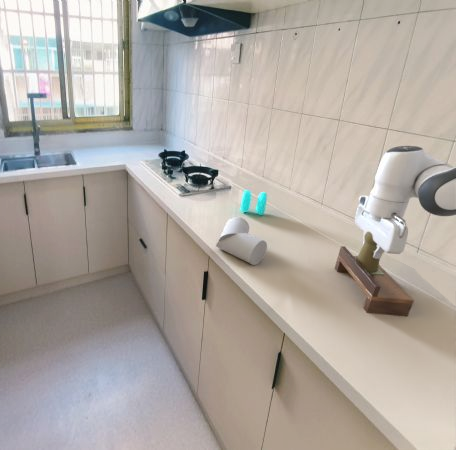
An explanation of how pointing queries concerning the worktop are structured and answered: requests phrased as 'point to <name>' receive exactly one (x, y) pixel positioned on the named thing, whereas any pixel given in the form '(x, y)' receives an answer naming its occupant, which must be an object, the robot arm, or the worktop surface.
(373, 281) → the shelf
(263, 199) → the cyan twin rounded posts
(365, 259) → the olive pawn shape
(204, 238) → the worktop surface
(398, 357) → the worktop surface
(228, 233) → the bent grey cylinder
